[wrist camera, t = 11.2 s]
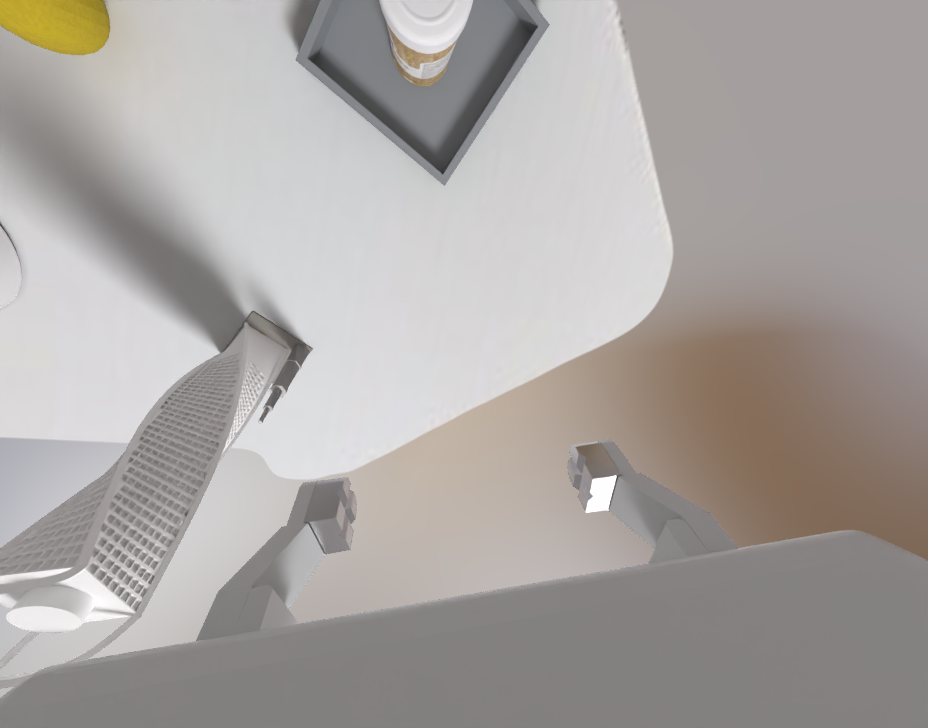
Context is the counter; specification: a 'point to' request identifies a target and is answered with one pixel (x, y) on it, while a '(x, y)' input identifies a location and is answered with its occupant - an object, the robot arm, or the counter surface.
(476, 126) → the tray
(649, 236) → the counter surface
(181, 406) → the skyscraper
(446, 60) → the sprinkles bottle
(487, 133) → the counter surface
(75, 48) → the lemon
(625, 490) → the robot arm
